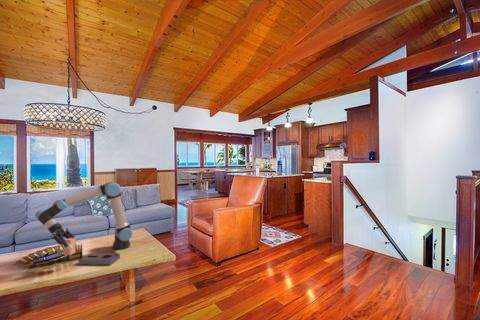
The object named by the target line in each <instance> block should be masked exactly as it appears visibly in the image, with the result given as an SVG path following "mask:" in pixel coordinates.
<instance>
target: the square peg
mask: <svg viewBox="0 0 480 320" xmlns="http://www.w3.org/2000/svg"><path fill="white" fill-rule="evenodd" d="M76 239H77V238H76V237H75V238H68V239H67V238H66V239H64V240H65V241H66V242H68V243H69V244H70V245H71V246H72V247H73V248H72V249H71V250H70V251H69V250H68V248H67V247H65V246H64V245H63V256H67V255H71V254H73V253H75V243H77V241H76Z"/></svg>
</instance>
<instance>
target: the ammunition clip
mask: <svg viewBox="0 0 480 320" xmlns="http://www.w3.org/2000/svg"><path fill="white" fill-rule="evenodd" d="M82 257H83V244H82V243H80V244H78V246H77V247H76V248H75V253H73V254H71V255H66V262H70V261H74V260H79V259H81V258H82Z"/></svg>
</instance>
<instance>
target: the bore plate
mask: <svg viewBox="0 0 480 320" xmlns="http://www.w3.org/2000/svg"><path fill="white" fill-rule="evenodd" d="M119 259H121V254H120V253H109V252H108V253H100V252H99V253H96V252H95V253H93V252H91V253H87V254H86V255H85V256H82V258H80V259H77V265H78V266H112V265H113V264H114V263H116V262H117V261H118V260H119Z"/></svg>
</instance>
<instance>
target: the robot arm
mask: <svg viewBox="0 0 480 320" xmlns="http://www.w3.org/2000/svg"><path fill="white" fill-rule="evenodd" d="M100 196H102V197H103V196H105V197H106V200H108V201H109V203H110V207H111V210H112V214H113V217H114V220H115V224H114V241H113V244H112V250H113V251H115V250H116V251H119V250H120V251H121V250H126V249H128V248H130V247H131V242H130V240H131V238H132V237H133V229H131V225H130V223H129V222H128V220H127V217H126V213H125V210H124V205H123V203H122V199H121V198H122V188H121V185H120V184H118V183H117V182H113V181H109V182H106V183H104V184H101V185H99V186H98V187H96V188H93V189H90V190H87V191H83V192H81V193H78V194H75V195H72V196H69V197H65V198H63V199H60V200H56V201H54V202H53V204H52V206H50V207H48V208H47V209H46V208H42V209H40V210H38V211H37V212H35V213H34V217H35V218H36V219H37V221H39V222H40V223H41V224H42V225H43V226H44V227H45V228H46V230H48V231H49V232H50V233H51V234H50V238H52V239H54V240H55V242H56V243H57V244H58V245H60V246H63V247H64V246H65V247H67V248H68V250H69V251H70V250H71V249H72V248H73V247H72V246H71V245H70V244H69V243H68V242H66V241H65V240H66V239H68V238H76V237H75V236H74V234H73V233H71V232H70V231H69V229H68V228H65V229H64V228H63V226H62V225H61V224H60V223H59V221H58V220H57V219H56V218H55V217H56V216H57V215H58V214H60V213H61V212H63V211H65V210H66V209H67V208H68V207H69V208H70V207H72V206H74V205H77V204H80V203H84V202H86V201H88V200H89V201H90V200H92V199H95V198H97V197H100ZM65 238H66V239H65ZM78 245H79V243H77V242H76V243H75V248H76V247H77V248H78ZM125 248H126V249H125Z"/></svg>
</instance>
